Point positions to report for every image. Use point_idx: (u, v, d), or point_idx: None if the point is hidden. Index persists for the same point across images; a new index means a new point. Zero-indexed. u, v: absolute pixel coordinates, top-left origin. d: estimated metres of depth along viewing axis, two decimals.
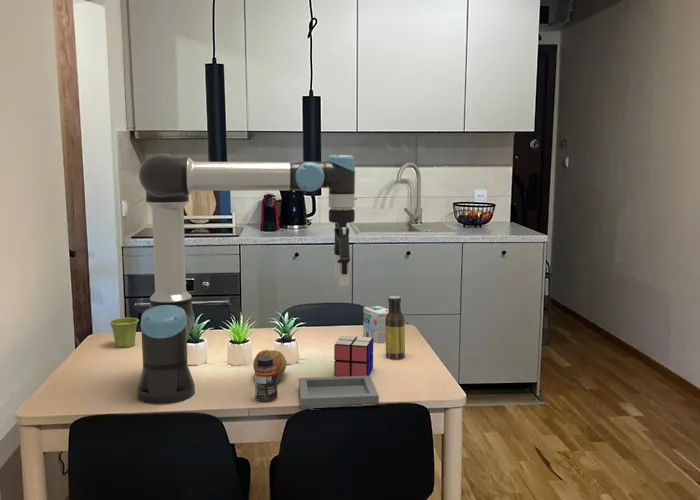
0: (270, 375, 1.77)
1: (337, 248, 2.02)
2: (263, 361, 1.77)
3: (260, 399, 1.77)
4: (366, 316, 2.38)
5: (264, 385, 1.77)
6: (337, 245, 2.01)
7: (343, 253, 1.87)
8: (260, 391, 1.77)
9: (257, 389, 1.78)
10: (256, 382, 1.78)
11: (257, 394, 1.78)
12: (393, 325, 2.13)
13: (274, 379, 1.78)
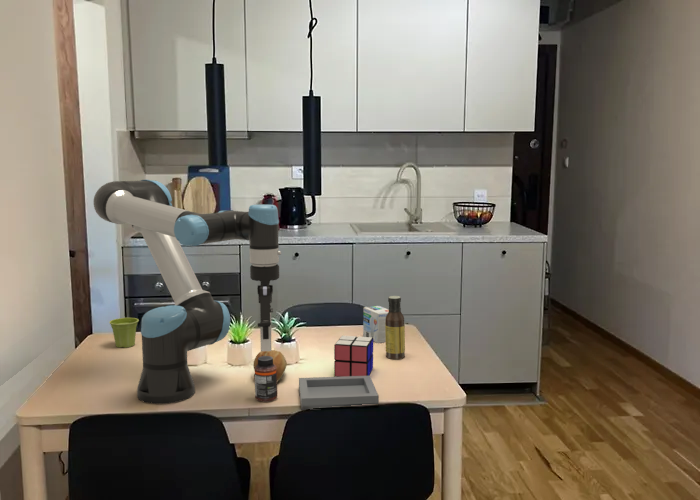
0: (270, 375, 1.77)
1: None
2: (263, 361, 1.77)
3: (260, 399, 1.77)
4: (366, 316, 2.38)
5: (264, 385, 1.77)
6: None
7: (263, 316, 1.67)
8: (260, 391, 1.77)
9: (257, 389, 1.78)
10: (256, 382, 1.78)
11: (257, 394, 1.78)
12: (393, 325, 2.13)
13: (274, 379, 1.78)
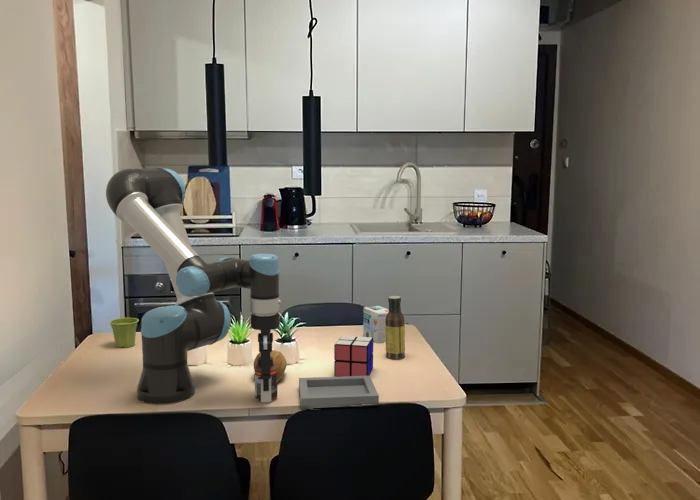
0: None
1: None
2: None
3: (260, 399, 1.77)
4: (366, 316, 2.38)
5: None
6: None
7: (263, 371, 1.72)
8: (260, 391, 1.77)
9: (257, 389, 1.78)
10: (256, 382, 1.78)
11: (257, 394, 1.78)
12: (393, 325, 2.13)
13: (274, 379, 1.78)
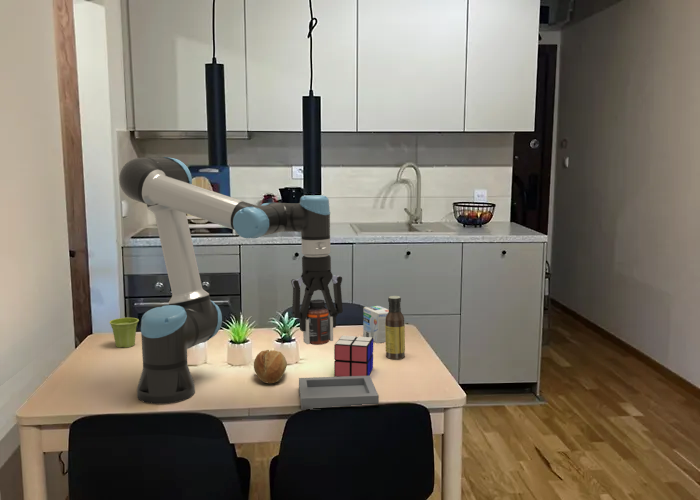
0: (309, 318, 1.75)
1: (326, 304, 1.79)
2: None
3: None
4: (366, 316, 2.38)
5: None
6: (325, 300, 1.79)
7: (293, 308, 1.75)
8: None
9: None
10: None
11: None
12: (393, 325, 2.13)
13: (313, 323, 1.75)
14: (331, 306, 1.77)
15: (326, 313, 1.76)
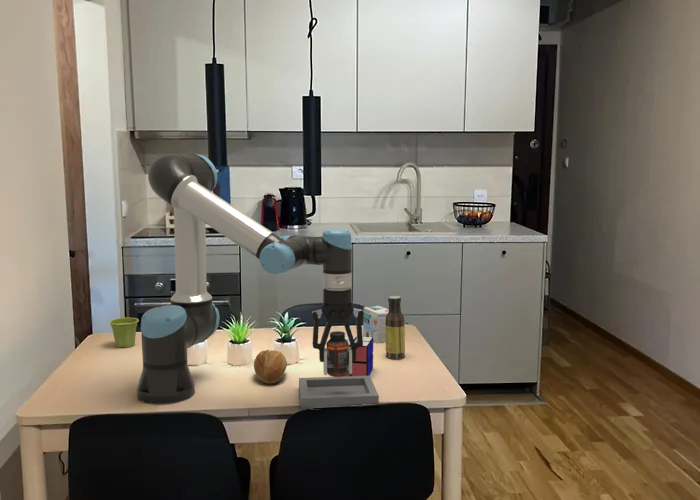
0: (327, 349, 1.78)
1: (348, 337, 1.80)
2: None
3: None
4: (366, 316, 2.38)
5: None
6: None
7: None
8: None
9: None
10: None
11: None
12: (393, 325, 2.13)
13: (331, 355, 1.77)
14: (350, 339, 1.78)
15: (344, 346, 1.77)
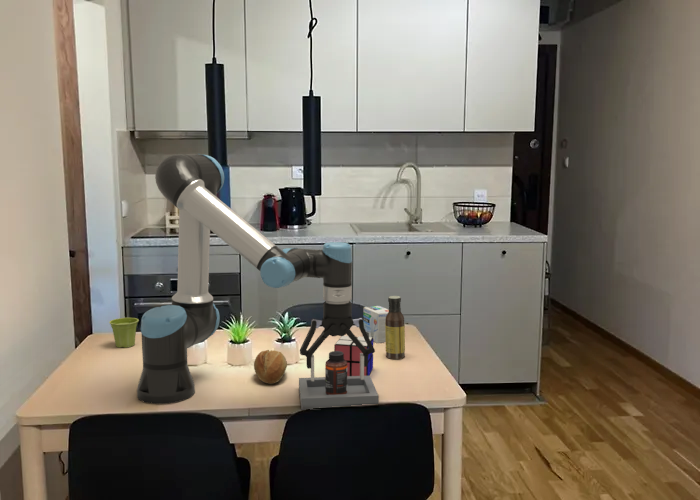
0: (326, 369, 1.79)
1: None
2: (329, 354, 1.80)
3: None
4: (366, 316, 2.38)
5: (325, 376, 1.81)
6: None
7: (302, 345, 1.79)
8: None
9: None
10: None
11: None
12: (393, 325, 2.13)
13: (330, 375, 1.78)
14: (360, 347, 1.79)
15: (343, 366, 1.78)
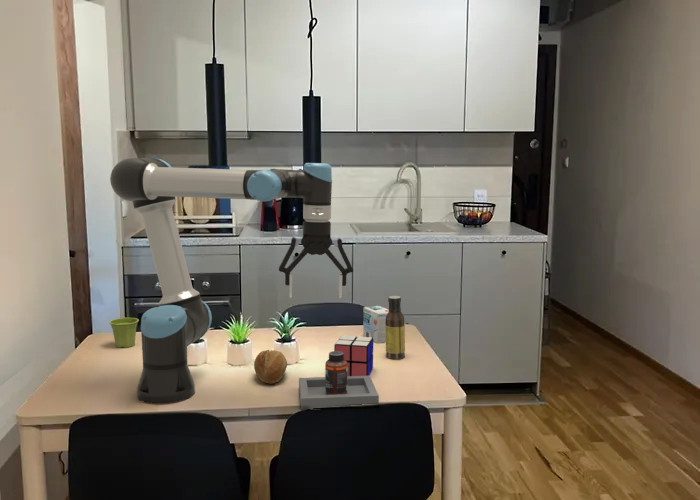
0: (326, 369, 1.79)
1: None
2: (329, 354, 1.80)
3: None
4: (366, 316, 2.38)
5: (325, 376, 1.81)
6: None
7: None
8: None
9: None
10: None
11: None
12: (393, 325, 2.13)
13: (330, 375, 1.78)
14: (338, 266, 1.83)
15: (343, 366, 1.78)
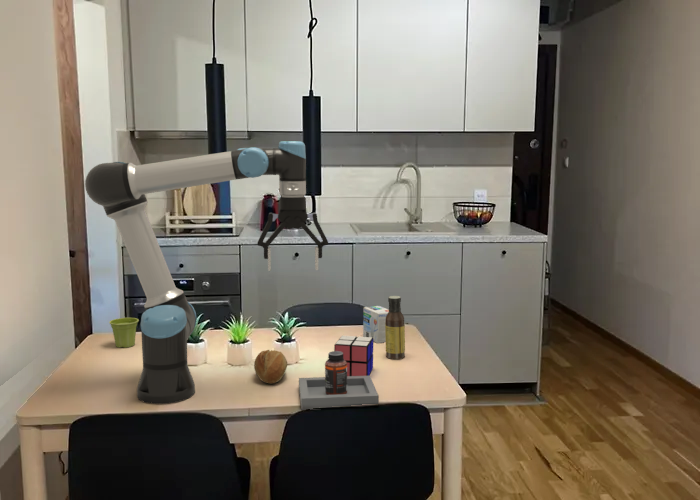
0: (326, 369, 1.79)
1: None
2: (328, 354, 1.80)
3: None
4: (366, 316, 2.38)
5: (325, 376, 1.81)
6: None
7: (260, 237, 1.92)
8: None
9: None
10: None
11: None
12: (393, 325, 2.13)
13: (330, 375, 1.78)
14: (314, 239, 1.92)
15: (343, 366, 1.78)
